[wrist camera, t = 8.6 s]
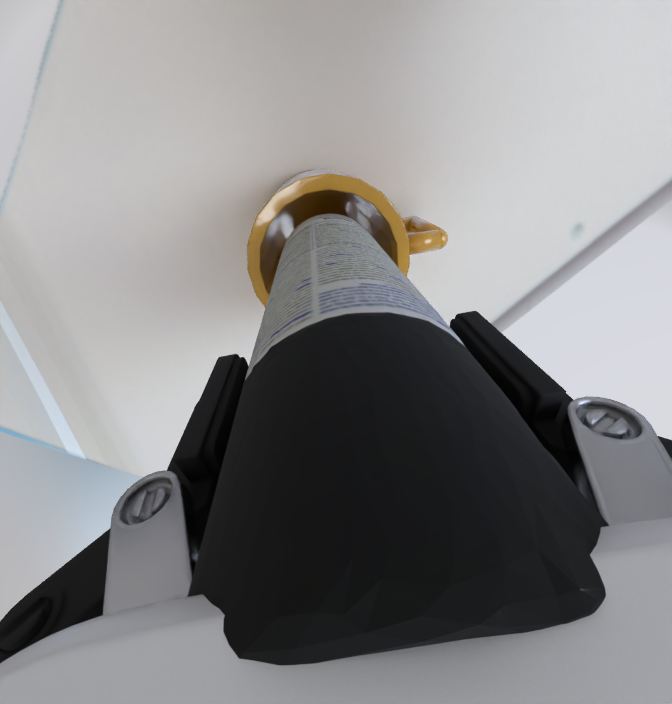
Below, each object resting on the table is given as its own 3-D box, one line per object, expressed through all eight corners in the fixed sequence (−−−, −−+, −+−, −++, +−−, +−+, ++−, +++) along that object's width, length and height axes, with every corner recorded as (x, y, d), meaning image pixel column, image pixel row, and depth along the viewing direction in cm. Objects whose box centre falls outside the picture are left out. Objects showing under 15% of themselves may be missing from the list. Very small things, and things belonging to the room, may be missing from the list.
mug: (282, 297, 31) (273, 348, 22) (250, 181, 25) (221, 193, 16) (413, 273, 30) (454, 316, 22) (412, 150, 25) (466, 146, 16)
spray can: (307, 320, 23) (312, 755, 6) (261, 236, 19) (-26, 742, 3) (387, 285, 22) (654, 691, 5) (355, 190, 18) (890, 523, 2)
